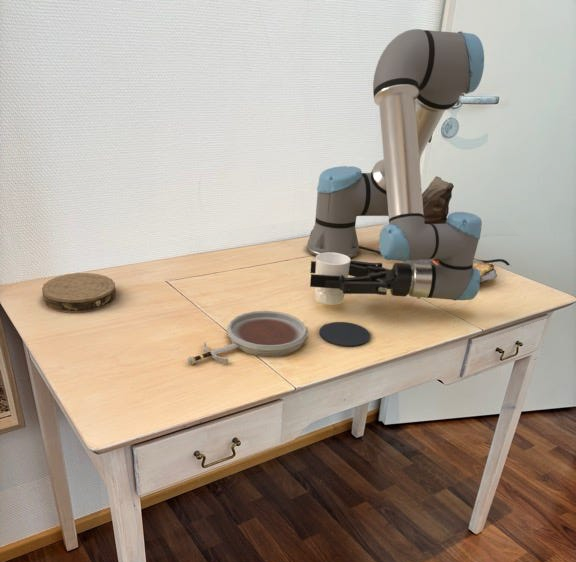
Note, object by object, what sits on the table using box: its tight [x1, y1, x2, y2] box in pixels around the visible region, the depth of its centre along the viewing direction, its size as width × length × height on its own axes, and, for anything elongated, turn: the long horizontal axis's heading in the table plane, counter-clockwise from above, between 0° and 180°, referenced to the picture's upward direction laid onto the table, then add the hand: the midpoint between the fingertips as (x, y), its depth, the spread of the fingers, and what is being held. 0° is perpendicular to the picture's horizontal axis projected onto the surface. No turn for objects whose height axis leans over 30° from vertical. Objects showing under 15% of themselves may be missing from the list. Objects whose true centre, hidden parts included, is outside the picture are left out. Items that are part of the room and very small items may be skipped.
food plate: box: [403, 257, 498, 283], centre depth 160 cm, size 25×23×4 cm
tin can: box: [41, 272, 117, 314], centre depth 134 cm, size 16×16×3 cm
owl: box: [422, 176, 455, 224], centre depth 174 cm, size 13×13×20 cm
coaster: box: [319, 321, 371, 348], centre depth 126 cm, size 11×11×1 cm
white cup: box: [314, 253, 352, 306], centre depth 134 cm, size 8×8×10 cm
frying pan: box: [187, 310, 308, 365], centre depth 119 cm, size 17×3×28 cm
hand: (310, 273), depth 133 cm, fingers closed on white cup, 8 cm apart
